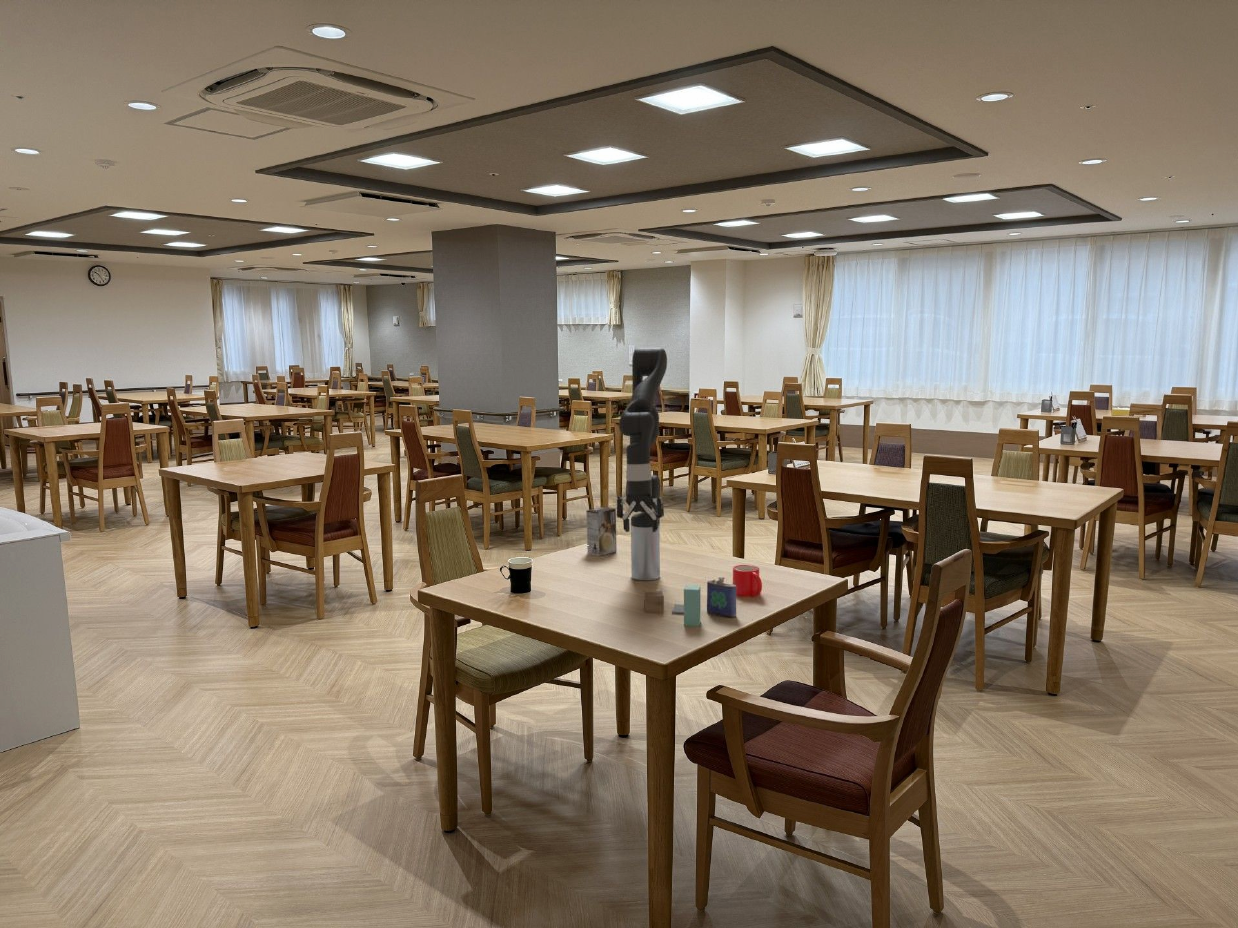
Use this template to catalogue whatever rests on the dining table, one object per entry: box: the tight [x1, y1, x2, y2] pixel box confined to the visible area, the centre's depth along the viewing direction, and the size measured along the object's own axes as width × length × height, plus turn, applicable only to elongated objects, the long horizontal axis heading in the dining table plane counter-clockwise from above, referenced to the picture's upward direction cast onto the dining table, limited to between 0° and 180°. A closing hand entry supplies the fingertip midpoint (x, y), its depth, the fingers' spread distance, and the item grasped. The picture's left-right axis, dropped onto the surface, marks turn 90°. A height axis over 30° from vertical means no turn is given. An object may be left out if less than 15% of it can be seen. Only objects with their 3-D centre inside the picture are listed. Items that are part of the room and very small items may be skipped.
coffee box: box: [586, 506, 618, 557], centre depth 312 cm, size 9×6×16 cm
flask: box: [706, 576, 737, 619], centre depth 240 cm, size 9×3×11 cm, turn 51°
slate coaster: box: [671, 603, 684, 615], centre depth 244 cm, size 7×7×1 cm
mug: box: [732, 564, 763, 598], centre depth 258 cm, size 8×12×8 cm, turn 27°
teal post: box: [683, 584, 701, 627], centre depth 232 cm, size 4×4×10 cm
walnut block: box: [643, 590, 665, 614], centre depth 245 cm, size 5×5×5 cm
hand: (640, 531), depth 263 cm, fingers open, 8 cm apart
